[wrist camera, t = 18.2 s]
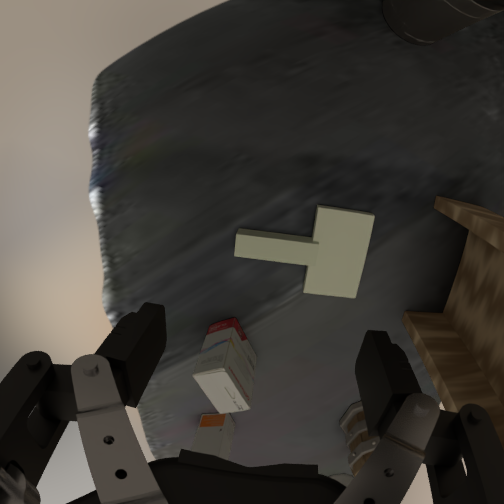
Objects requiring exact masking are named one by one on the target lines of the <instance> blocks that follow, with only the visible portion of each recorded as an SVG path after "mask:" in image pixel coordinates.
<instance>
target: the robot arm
mask: <svg viewBox="0 0 504 504" xmlns="http://www.w3.org/2000/svg"><path fill="white" fill-rule="evenodd" d="M382 10H383V15H384V17H385V19H386V22H387V23H388V25H389V26H390V28H391V29H392V30H393V31H394V32H395V33H396V34H397V35H399V36H400V37H401V38H403V39H404V40H406V41H408V42H410V43H413V44H417V45H430V44H433V43H435V42H437V41H439V40H441V39H443V38H445V37H447V36H449V35H451V34H453V33H455V32H457V31H459V30H461V29H463V28H465V27H468V26H470V25H472V24H474V23H476V22H478V21H481V20H483V19H485V18H487V17H489V16H492V15H494V14H496V13H498V12H501V11H503V10H504V0H383V3H382ZM166 341H167V334H166V319H165V308H164V306H163V305H159V304H153V303H148V302H145V303H144V304H143V305H142V307H141V308H140V309H139V311H138V312H137V313H135V312H131V313H129V314H127V315H126V316H124V317H122V318H121V320H120V321H119V322H118V323H117V325H116V327H114V329H113V330H112V331H111V333H110V334H109V335H108V336H107V338H106V339H105V340H104V342H103V343H102V344H101V346H100V347H99V348H98V350H97V351H96V352H95V354H89V355H84V356H81V357H79V358H78V359H76V360H75V361H74V363H73V364H72V365H59V364H53V363H52V361H51V358H50V356H49V355H48V354H47V353H44V352H42V351H33V352H29V353H27V354H25V355H24V356H22V357H21V358H20V359H19V361H18V362H17V363H16V364H15V365H14V367H13V368H12V369H11V370H10V372H9V373H8V374H7V375H6V377H5V378H4V379H3V380H2V382H1V383H0V504H40V501H41V500H40V494H39V492H38V490H37V488H36V487H37V484H38V482H39V480H40V478H41V476H42V474H43V472H44V470H45V468H46V466H47V464H48V462H49V459H50V457H51V456H52V454H53V452H54V450H55V448H56V446H57V444H58V442H59V440H60V438H61V436H62V434H63V432H64V431H65V429H66V427H67V425H68V423H69V421H77V422H78V426H79V430H80V435H81V438H82V443H83V447H84V450H85V454H86V458H87V461H88V465H89V468H90V472H91V475H92V478H93V481H94V484H95V487H96V490H95V491H92V492H90V493H89V494H86V495H84V496H82V497H80V498H78V499H75V500H73V501H71V502H69V503H67V504H400V503H401V501H402V500H403V498H404V496H405V494H406V492H407V491H408V489H409V487H410V485H411V483H412V481H413V480H414V478H415V476H416V473H417V472H418V470H419V468H420V466H421V464H422V463H423V464H426V468H427V473H428V478H429V482H430V488H431V492H432V498H433V504H504V449H503V447H502V444H501V442H500V439H499V437H498V435H497V432H496V430H495V428H494V425H493V423H492V421H491V419H490V416H489V414H488V413H487V411H486V410H485V409H484V408H483V407H481V406H479V405H477V404H472V403H469V404H465V405H464V406H462V408H461V409H460V410H459V412H458V413H456V412H451V411H445V410H441V409H440V407H439V405H438V403H437V402H436V400H434V399H433V398H432V397H430V396H429V395H426V394H423V393H422V391H421V388H420V386H419V384H418V381H417V379H416V377H415V374H414V372H413V370H412V367H411V365H410V363H408V358H407V356H406V354H405V352H404V351H403V350H402V349H401V348H400V347H399V346H398V345H397V344H392V343H391V340H390V338H389V336H388V333H387V332H386V331H375V330H368V331H367V332H366V334H365V337H364V340H363V343H362V346H361V349H360V351H359V354H358V357H357V360H356V365H355V375H356V380H357V384H358V388H359V393H360V397H361V402H362V406H363V411H364V416H365V420H366V425H367V430H368V435H369V437H370V436H379V438H380V442H379V443H378V445H377V446H376V448H375V449H374V451H373V452H372V454H371V455H370V457H369V458H368V459H367V461H366V462H365V464H364V465H363V466H362V468H361V469H360V471H359V472H358V473H357V475H356V476H355V477H354V479H353V480H352V481H351V482H350V484H349V485H348V486H347V487H346V486H345V485H343V484H342V483H340V482H338V481H337V480H335V479H332V478H330V477H327V476H324V475H321V474H318V465H305V464H285V463H284V464H277V465H269V466H260V467H245V466H242V465H239V464H236V463H234V462H231V461H228V460H225V459H223V458H220V457H217V456H215V455H210V454H204V453H199V452H194V451H189V450H184V449H181V451H180V454H179V457H172V458H164V459H158V460H155V461H151V462H149V463H147V461H146V459H145V456H144V454H143V452H142V450H141V447H140V445H139V443H138V440H137V438H136V435H135V433H134V431H133V428H132V425H131V423H130V421H129V418H128V415H127V413H126V410H125V406H126V405H127V406H130V407H134V408H136V407H137V405H138V403H139V400H140V398H141V396H142V394H143V392H144V390H145V388H146V386H147V384H148V382H149V380H150V378H151V376H152V374H153V372H154V370H155V368H156V366H157V364H158V362H159V360H160V358H161V356H162V354H163V352H164V350H165V347H166ZM35 406H36V407H35ZM34 407H35V408H34ZM33 409H34V410H33ZM32 410H33V411H32ZM31 412H32V413H31ZM30 413H31V414H30ZM29 415H30V416H29ZM28 417H29V418H28ZM462 458H464V462H465V465H466V469H467V476H466V473H465V470H464V466H463V463H462Z"/></svg>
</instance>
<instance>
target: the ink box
mask: <svg viewBox="0 0 504 504" xmlns="http://www.w3.org/2000/svg"><path fill="white" fill-rule="evenodd" d="M256 360H257V356H256V354H255V352H254V350H253V349H252V347H251V345H250V343H249V341H248V340H247V338H246V336H245V334H244V332H243V330H242V328H241V326H240V324H239V323H238V321H237V319H236V318H231V319H227V320H224V321H220V322H217V323H215V324H212V325H210V326H209V329H208V332H207V335H206V337H205V340H204V343H203V346H202V349H201V352H200V355H199V358H198V361H197V364H196V367H195V369H194V372H193V377H194V378H195V380H196V381H197V383H198V384H199V386H200V387H201V388H202V390H203V391H204V393H205V394H206V395H207V397H208V398H209V399H210V401H211V402H212V404H213V405H214V406H215V408H216V409H217V410H218V412H219V413H220V414H225V413H232V412H237V411H243V410H249V409H250V408H251V400H252V392H253V384H254V376H255V367H256Z"/></svg>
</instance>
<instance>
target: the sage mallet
mask: <svg viewBox="0 0 504 504" xmlns="http://www.w3.org/2000/svg"><path fill="white" fill-rule="evenodd" d="M374 217H375V216H374V215H373V214H372V213H368V212H362V211H356V210H350V209H343V208H337V207H330V206H323V205H317V209H316V215H315V222H314V228H313V234H312V237H304V236H297V235H289V234H281V233H273V232H265V231H257V230H249V229H241V228H239V229H238V231H237V234H236V243H235V255H234V256H237V257H245V258H253V259H261V260H269V261H277V262H284V263H292V264H300V265H307V268H306V274H305V279H304V284H303V293H312V294H320V295H329V296H338V297H348V298H355V297H356V293H357V290H358V286H359V282H360V278H361V274H362V270H363V266H364V262H365V258H366V254H367V249H368V245H369V241H370V236H371V232H372V227H373V222H374Z"/></svg>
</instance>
